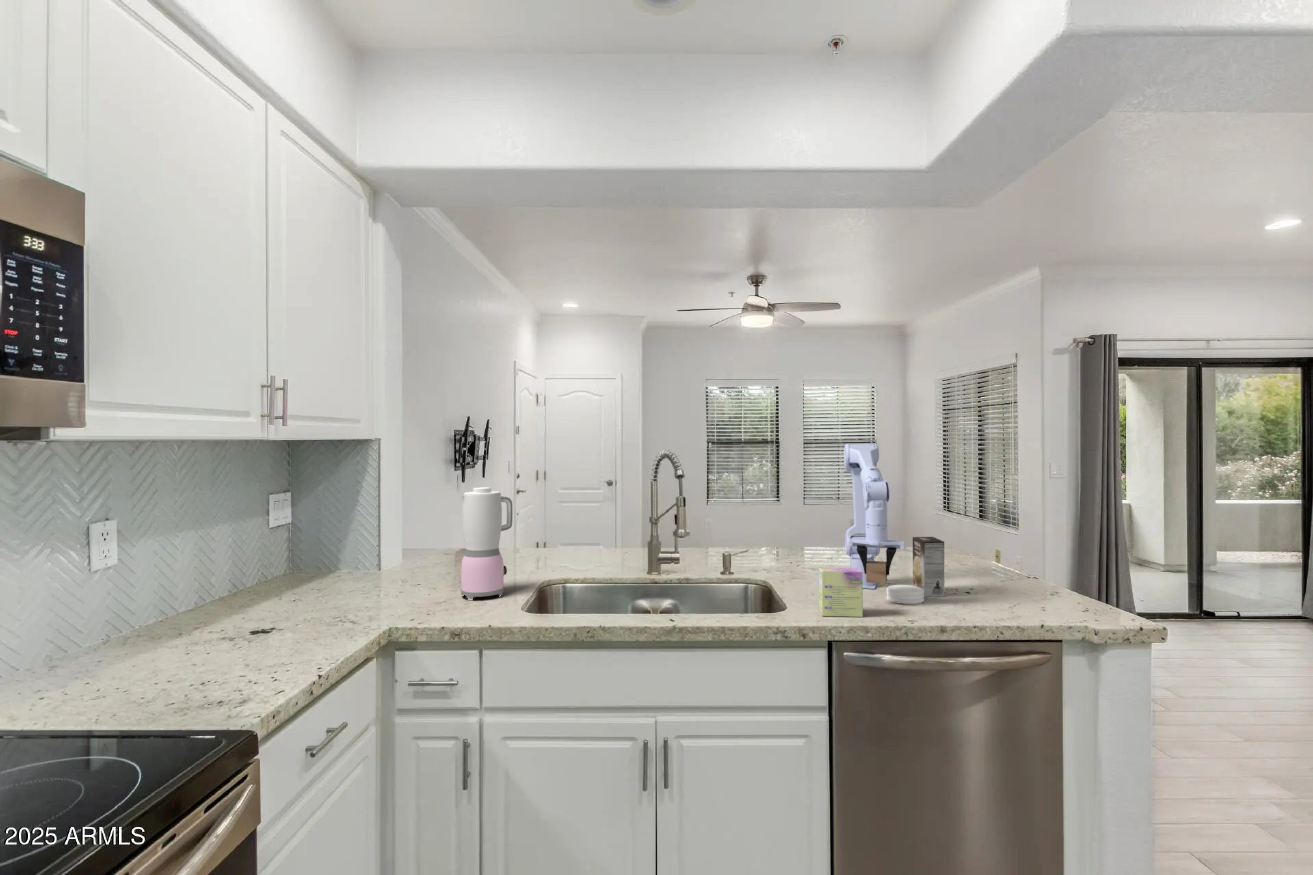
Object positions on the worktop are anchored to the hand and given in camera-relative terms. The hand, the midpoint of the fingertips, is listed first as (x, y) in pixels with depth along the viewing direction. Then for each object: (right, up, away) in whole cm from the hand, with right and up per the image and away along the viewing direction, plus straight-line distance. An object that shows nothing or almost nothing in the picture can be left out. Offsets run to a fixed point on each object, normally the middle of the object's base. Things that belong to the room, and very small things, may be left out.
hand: (876, 573), depth 182 cm
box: (-13, -9, -10) cm, 18 cm away
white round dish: (+10, -9, +5) cm, 14 cm away
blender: (-111, -10, +14) cm, 112 cm away
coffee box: (+19, -8, +12) cm, 25 cm away
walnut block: (0, -2, 0) cm, 2 cm away
